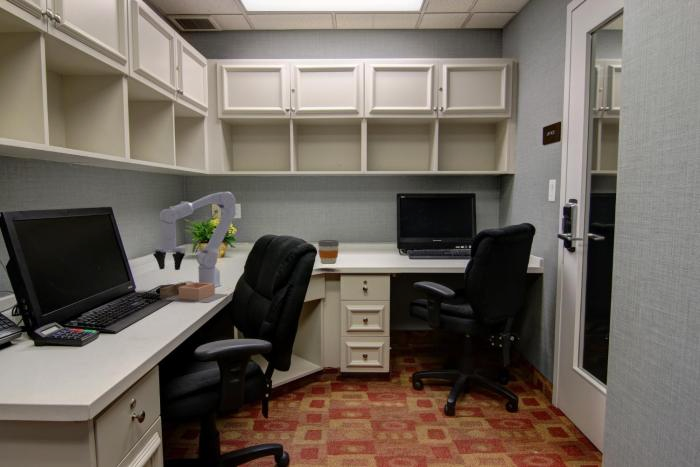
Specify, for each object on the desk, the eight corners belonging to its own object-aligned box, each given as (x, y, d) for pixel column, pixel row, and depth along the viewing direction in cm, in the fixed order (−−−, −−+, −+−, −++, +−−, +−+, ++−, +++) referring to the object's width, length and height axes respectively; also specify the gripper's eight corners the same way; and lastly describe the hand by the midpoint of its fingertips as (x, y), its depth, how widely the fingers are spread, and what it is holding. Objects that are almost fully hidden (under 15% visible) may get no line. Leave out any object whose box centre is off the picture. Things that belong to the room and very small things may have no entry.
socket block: (195, 293, 168) (195, 282, 168) (214, 294, 166) (214, 283, 166) (178, 298, 158) (178, 287, 158) (199, 300, 156) (198, 288, 156)
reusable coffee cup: (332, 263, 257) (332, 239, 256) (342, 265, 246) (342, 241, 245) (314, 264, 250) (314, 240, 249) (324, 267, 240) (324, 242, 239)
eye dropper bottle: (187, 294, 169) (182, 290, 180) (201, 291, 172) (195, 286, 182) (185, 284, 169) (180, 280, 179) (199, 281, 172) (193, 277, 182)
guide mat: (177, 291, 172) (177, 291, 172) (228, 294, 167) (228, 294, 167) (153, 299, 159) (153, 298, 159) (208, 302, 153) (208, 302, 153)
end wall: (181, 291, 171) (181, 282, 171) (185, 292, 171) (185, 282, 171) (160, 298, 159) (160, 288, 158) (164, 298, 158) (164, 288, 158)
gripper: (147, 237, 170) (148, 270, 170) (177, 238, 166) (178, 271, 167) (159, 236, 176) (160, 267, 177) (188, 237, 173) (189, 269, 174)
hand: (169, 269), depth 173 cm, fingers open, 7 cm apart
